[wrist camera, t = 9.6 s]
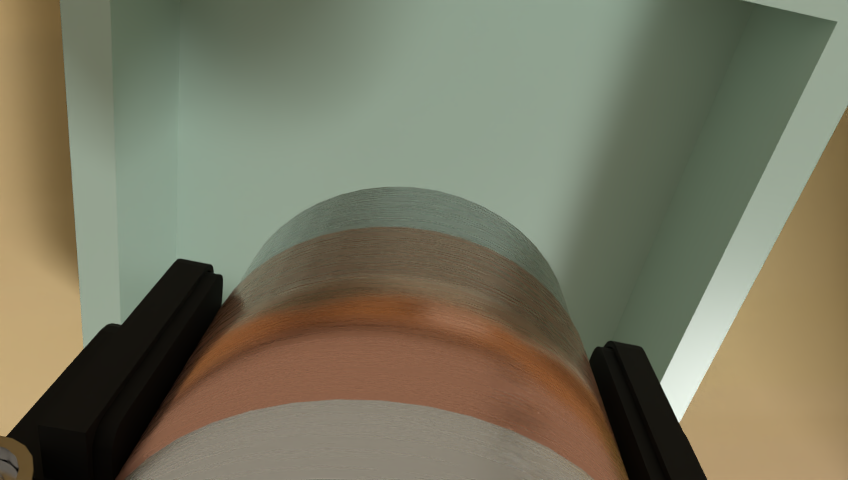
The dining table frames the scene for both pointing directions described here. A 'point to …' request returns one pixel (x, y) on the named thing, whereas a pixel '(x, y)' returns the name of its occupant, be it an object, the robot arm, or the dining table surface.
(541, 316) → the clear brown jar
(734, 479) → the dining table surface
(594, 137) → the tote
